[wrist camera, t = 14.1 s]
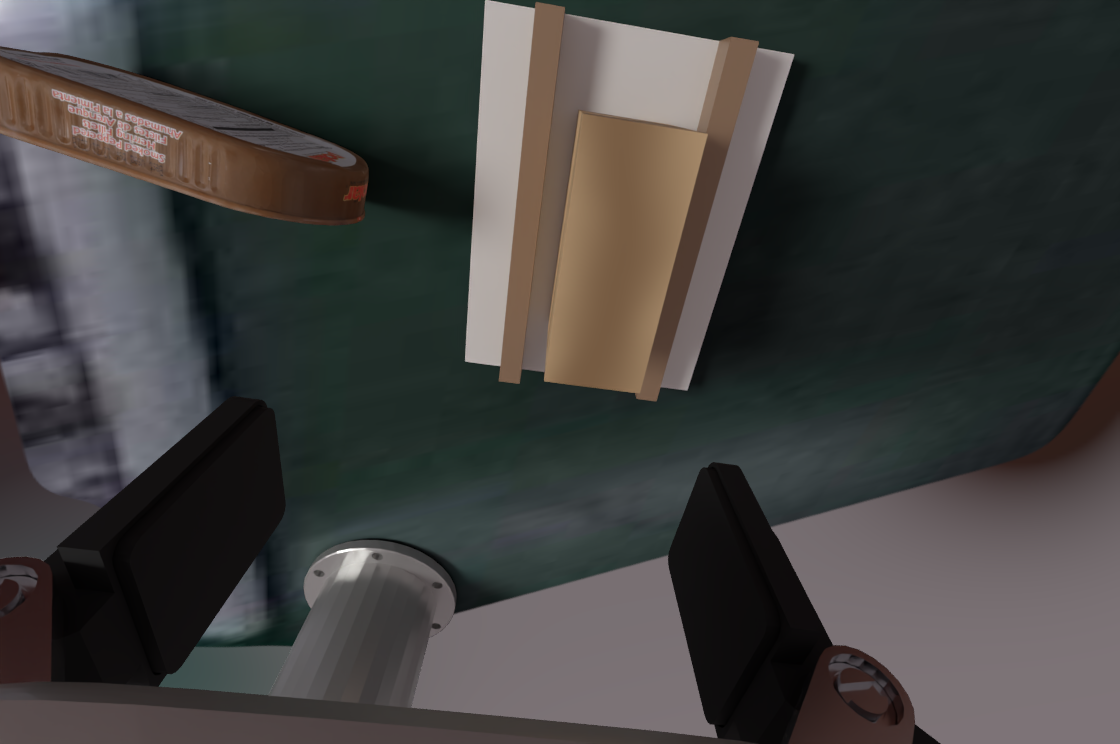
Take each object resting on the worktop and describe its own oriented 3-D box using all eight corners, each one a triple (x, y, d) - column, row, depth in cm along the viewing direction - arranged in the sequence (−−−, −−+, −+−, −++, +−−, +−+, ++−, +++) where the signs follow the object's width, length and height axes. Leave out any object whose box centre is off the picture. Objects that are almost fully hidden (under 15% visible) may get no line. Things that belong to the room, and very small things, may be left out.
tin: (88, 109, 25) (-114, 114, 17) (80, 38, 23) (-146, 10, 16) (387, 211, 27) (319, 253, 20) (396, 152, 25) (328, 173, 18)
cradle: (683, 380, 32) (693, 406, 29) (468, 352, 31) (459, 375, 28) (784, 56, 23) (811, 51, 21) (489, 4, 22) (479, -8, 20)
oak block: (670, 124, 24) (707, 133, 17) (624, 331, 29) (639, 393, 23) (578, 109, 23) (583, 113, 17) (548, 320, 29) (544, 381, 22)
